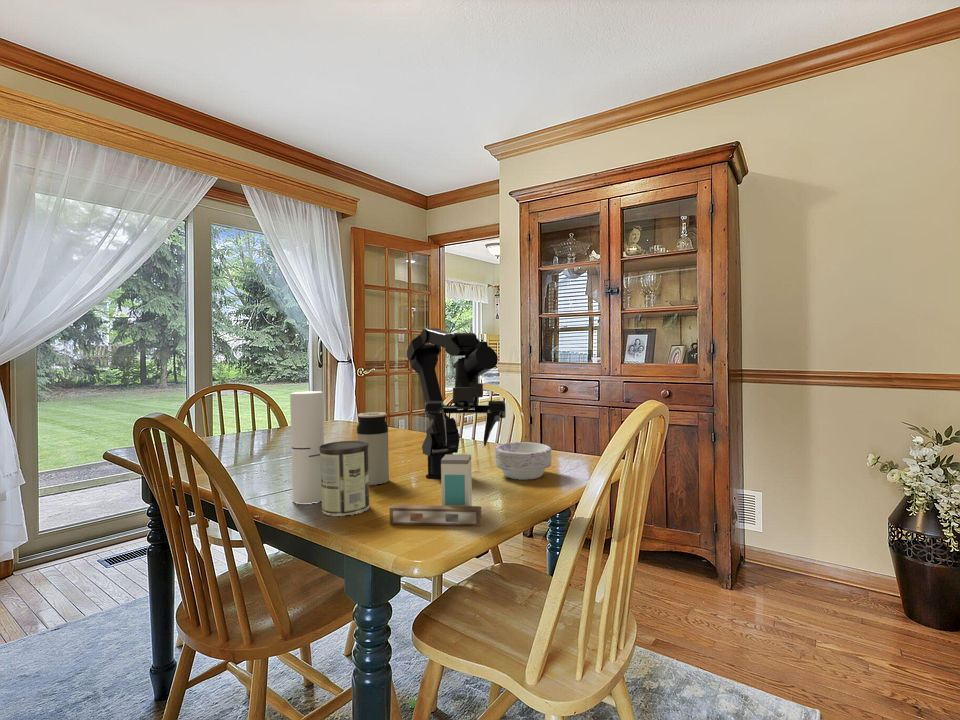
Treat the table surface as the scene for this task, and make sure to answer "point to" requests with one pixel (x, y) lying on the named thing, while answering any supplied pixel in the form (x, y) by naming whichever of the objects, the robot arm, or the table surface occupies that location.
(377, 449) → the travel mug
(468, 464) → the carton
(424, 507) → the brown wooden bar
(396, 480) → the table surface
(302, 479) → the cylindrical container
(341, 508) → the coffee can
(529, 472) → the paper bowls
